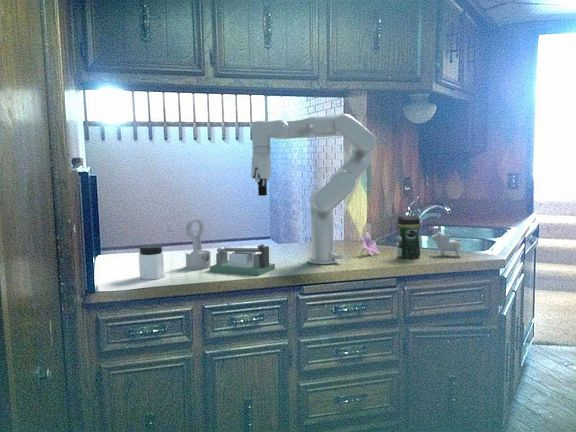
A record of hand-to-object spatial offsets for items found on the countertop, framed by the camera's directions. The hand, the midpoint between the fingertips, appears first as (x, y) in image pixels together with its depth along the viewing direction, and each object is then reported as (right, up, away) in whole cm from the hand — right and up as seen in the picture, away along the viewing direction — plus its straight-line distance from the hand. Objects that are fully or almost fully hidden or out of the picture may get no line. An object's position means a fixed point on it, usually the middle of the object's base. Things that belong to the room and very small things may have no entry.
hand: (262, 195), depth 225 cm
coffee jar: (+64, -27, +13) cm, 71 cm away
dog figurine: (+82, -27, +16) cm, 87 cm away
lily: (+48, -27, +21) cm, 58 cm away
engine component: (-27, -30, -3) cm, 40 cm away
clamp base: (-8, -30, -10) cm, 33 cm away
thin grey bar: (-8, -23, -10) cm, 26 cm away
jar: (-41, -32, -21) cm, 56 cm away
